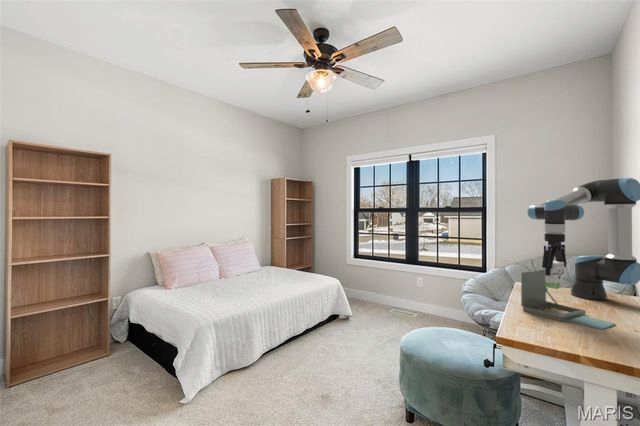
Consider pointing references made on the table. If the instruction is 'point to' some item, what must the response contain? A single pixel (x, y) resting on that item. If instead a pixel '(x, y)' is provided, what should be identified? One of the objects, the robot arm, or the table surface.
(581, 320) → the mat
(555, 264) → the ink box
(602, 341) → the table surface
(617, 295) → the table surface
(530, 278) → the case
